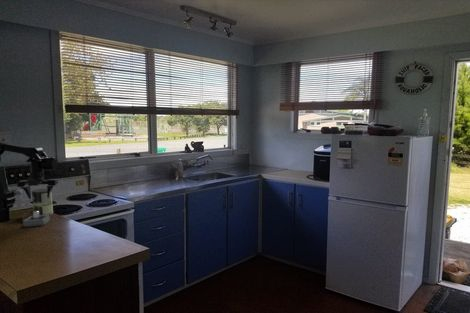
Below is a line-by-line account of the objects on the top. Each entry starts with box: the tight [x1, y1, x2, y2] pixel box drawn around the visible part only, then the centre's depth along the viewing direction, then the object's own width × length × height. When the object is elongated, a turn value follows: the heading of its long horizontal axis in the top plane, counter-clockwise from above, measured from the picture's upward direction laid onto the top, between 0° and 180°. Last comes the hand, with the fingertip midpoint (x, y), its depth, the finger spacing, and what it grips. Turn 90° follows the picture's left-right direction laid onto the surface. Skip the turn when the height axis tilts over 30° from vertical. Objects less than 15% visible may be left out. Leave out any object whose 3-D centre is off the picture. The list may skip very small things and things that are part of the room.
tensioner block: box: [21, 210, 40, 223], centre depth 190 cm, size 9×6×4 cm, turn 12°
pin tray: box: [22, 215, 51, 228], centre depth 182 cm, size 10×10×3 cm
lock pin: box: [33, 211, 39, 220], centre depth 182 cm, size 2×2×6 cm
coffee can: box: [31, 188, 54, 216], centre depth 202 cm, size 10×10×14 cm
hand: (39, 198), depth 188 cm, fingers open, 9 cm apart
